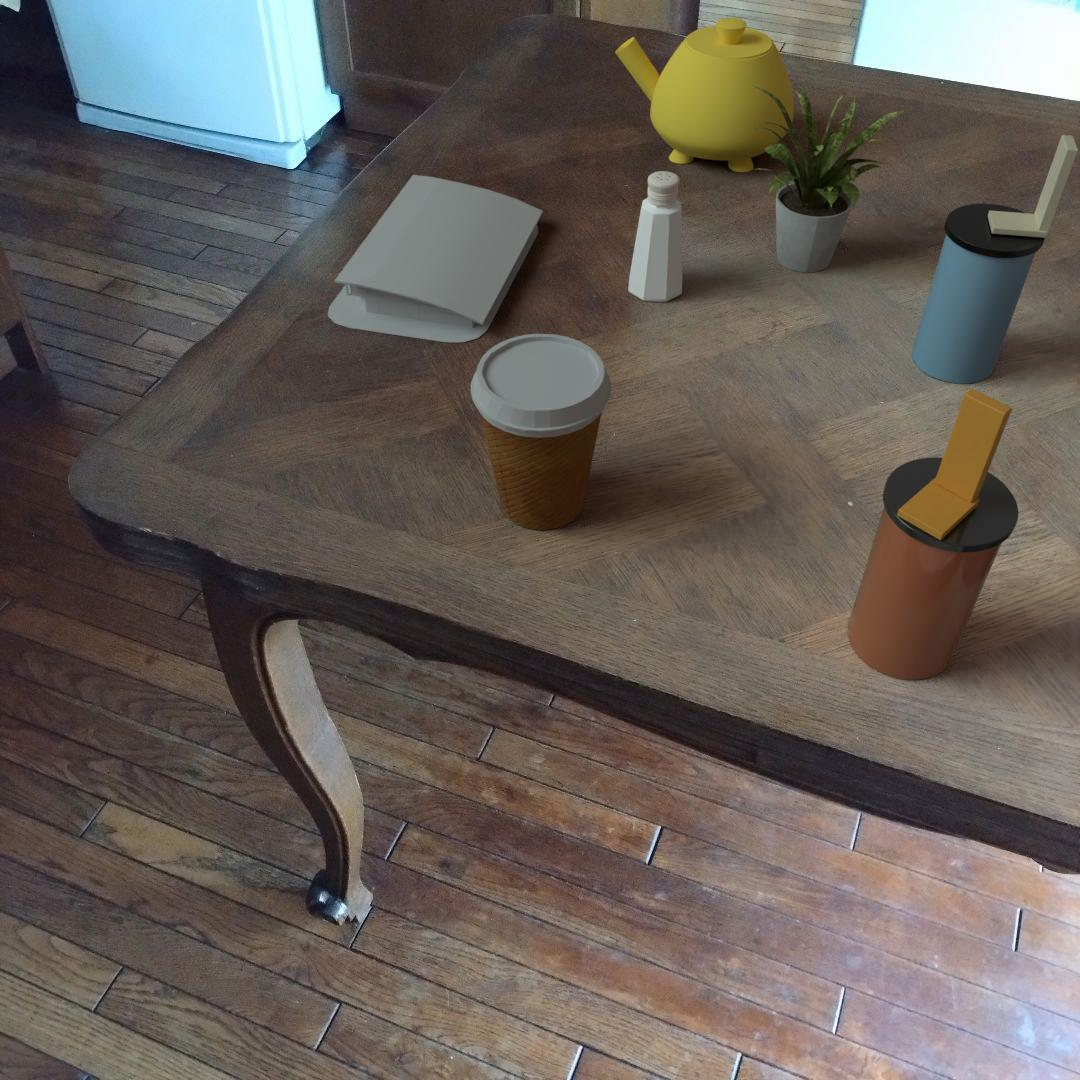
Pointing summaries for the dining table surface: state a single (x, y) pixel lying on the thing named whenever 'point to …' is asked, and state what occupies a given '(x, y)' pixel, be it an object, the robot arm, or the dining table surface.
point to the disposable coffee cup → (541, 424)
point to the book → (436, 262)
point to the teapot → (716, 93)
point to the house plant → (816, 188)
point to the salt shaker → (658, 242)
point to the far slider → (1048, 200)
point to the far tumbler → (972, 296)
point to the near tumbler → (925, 577)
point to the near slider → (960, 467)
